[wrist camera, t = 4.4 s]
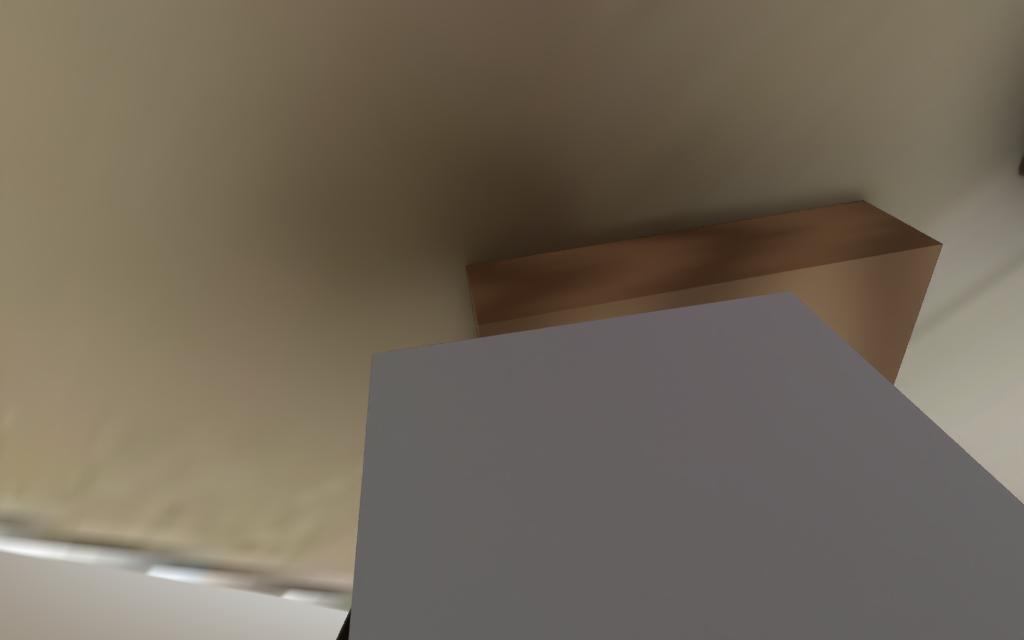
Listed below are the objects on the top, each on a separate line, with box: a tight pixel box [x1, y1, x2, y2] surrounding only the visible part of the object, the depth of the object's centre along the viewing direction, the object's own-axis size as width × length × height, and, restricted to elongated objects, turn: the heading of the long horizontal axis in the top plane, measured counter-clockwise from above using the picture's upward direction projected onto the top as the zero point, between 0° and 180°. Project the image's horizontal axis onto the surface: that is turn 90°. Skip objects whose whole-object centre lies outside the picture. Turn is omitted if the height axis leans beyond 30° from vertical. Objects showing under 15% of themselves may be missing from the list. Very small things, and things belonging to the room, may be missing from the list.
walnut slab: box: [466, 200, 943, 385], centre depth 22 cm, size 14×14×4 cm
